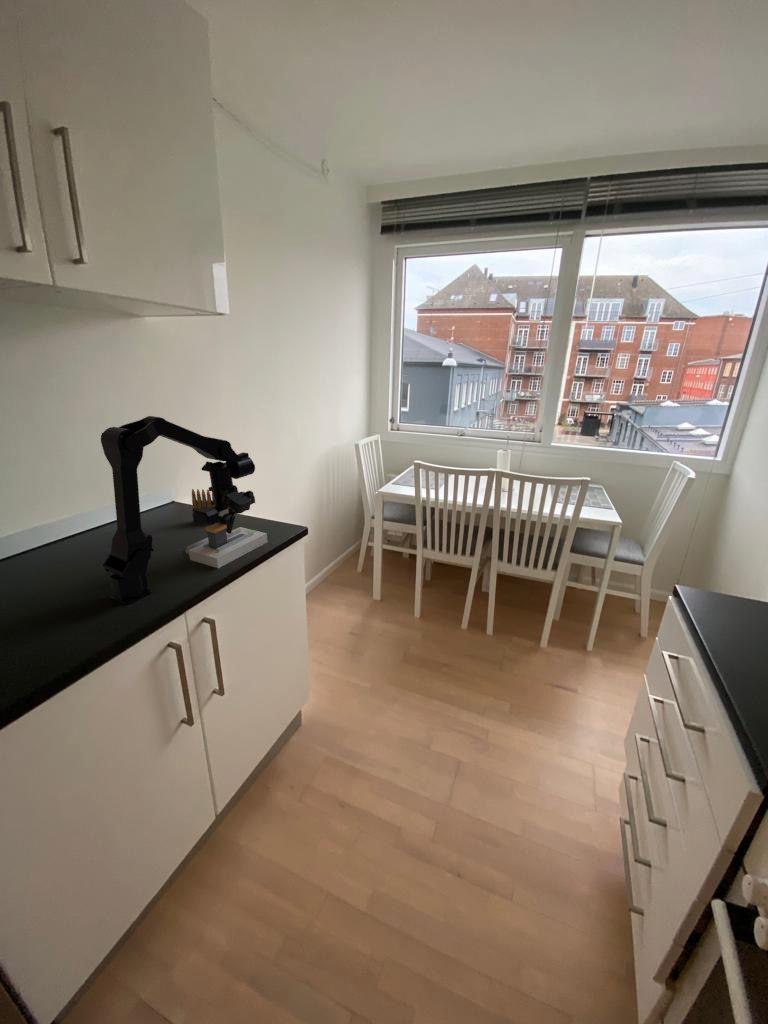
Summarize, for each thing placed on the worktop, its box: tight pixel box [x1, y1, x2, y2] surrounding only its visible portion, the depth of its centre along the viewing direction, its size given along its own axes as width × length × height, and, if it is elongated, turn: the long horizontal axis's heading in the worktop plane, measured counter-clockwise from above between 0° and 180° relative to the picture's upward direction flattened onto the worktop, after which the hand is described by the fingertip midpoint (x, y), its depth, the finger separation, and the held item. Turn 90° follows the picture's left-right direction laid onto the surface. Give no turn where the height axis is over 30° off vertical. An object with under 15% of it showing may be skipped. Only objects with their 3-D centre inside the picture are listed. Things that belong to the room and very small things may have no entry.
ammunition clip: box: [191, 488, 220, 524], centre depth 145 cm, size 11×2×12 cm, turn 88°
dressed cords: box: [184, 532, 227, 555], centre depth 130 cm, size 17×3×1 cm, turn 154°
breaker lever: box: [205, 523, 227, 549], centre depth 120 cm, size 4×3×6 cm
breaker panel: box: [188, 526, 268, 569], centre depth 125 cm, size 20×11×4 cm, turn 154°
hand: (229, 533), depth 124 cm, fingers closed
